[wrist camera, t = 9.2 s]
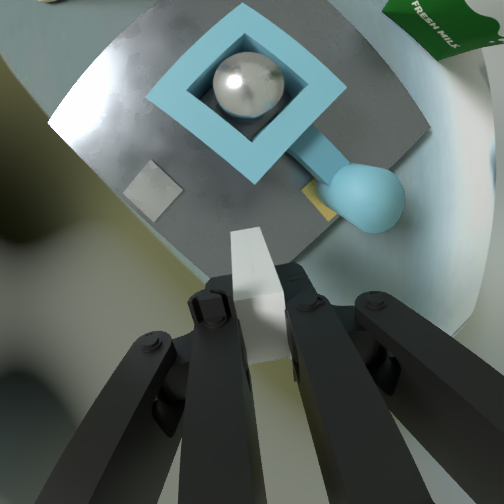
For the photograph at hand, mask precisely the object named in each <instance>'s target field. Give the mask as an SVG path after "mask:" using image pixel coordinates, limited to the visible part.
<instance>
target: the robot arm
mask: <svg viewBox="0 0 504 504" xmlns="http://www.w3.org/2000/svg"><path fill="white" fill-rule="evenodd" d="M230 233H231V257H232V274H229V275H223V276H217V277H211V278H210V280H209V281H208V282H207V283H206V286H205V289H204V290H201V291H199V292H197V293H195V294H194V295H193V296H191V297H190V299H189V301H188V302H187V303H188V306H189V309H190V312H191V315H192V318H193V321H194V324H195V325H194V330H193V331H191V332H190V333H188V334H186V335H184V336H181V337H178V338H175V339H172V338H171V336H170V335H169V334H168V333H166V332H163V331H152V332H149V333H146V334H144V335H143V336H141V337H139V338H138V339H137V340H136V341H135V342H134V343H133V345H132V346H131V347H130V349H129V350H128V352H127V353H126V355H125V356H124V358H123V359H122V361H121V362H120V364H119V365H118V367H117V368H116V370H115V371H114V373H113V374H112V376H111V377H110V379H109V380H108V382H107V383H106V385H105V386H104V388H103V389H102V391H101V392H100V394H99V395H98V397H97V398H96V400H95V401H94V403H93V405H92V406H91V408H90V409H89V411H88V412H87V414H86V416H85V417H84V419H83V421H82V422H81V424H80V425H79V427H78V429H77V430H76V432H75V433H74V435H73V437H72V438H71V440H70V442H69V443H68V445H67V447H66V448H65V450H64V452H63V453H62V455H61V457H60V459H59V460H58V462H57V464H56V465H55V467H54V469H53V471H52V472H51V474H50V476H49V478H48V480H47V482H46V483H45V485H44V487H43V489H42V490H41V492H40V494H39V496H38V498H37V500H36V502H35V504H157V502H158V499H159V496H160V494H161V491H162V489H163V486H164V483H165V480H166V478H167V475H168V473H169V470H170V467H171V465H172V462H173V459H174V456H175V454H176V451H177V448H178V446H179V443H180V440H181V438H182V445H181V458H180V474H179V492H178V504H267V499H266V492H265V485H264V477H263V470H262V463H261V456H260V448H259V440H258V432H257V424H256V417H255V408H254V400H253V392H252V384H251V375H250V371H249V368H248V364H255V363H260V362H267V361H272V360H277V359H283V358H288V357H291V356H290V352H291V355H292V363H293V374H294V381H297V384H298V388H299V391H300V395H301V399H302V402H303V406H304V409H305V413H306V417H307V421H308V424H309V428H310V432H311V436H312V439H313V443H314V447H315V450H316V454H317V457H318V462H319V465H320V469H321V473H322V476H323V480H324V484H325V488H326V491H327V496H328V499H329V503H330V504H435V503H434V502H433V500H432V499H431V497H430V494H429V492H428V490H427V488H426V485H425V483H424V481H423V479H422V476H421V474H420V472H419V470H418V468H417V466H416V464H415V461H414V459H413V457H412V455H411V453H410V451H409V449H408V447H407V445H406V443H405V441H404V439H403V437H402V435H401V433H400V431H399V429H398V427H397V425H396V423H395V421H394V419H393V417H392V415H391V413H390V411H391V412H392V413H393V415H395V417H396V418H397V419H398V420H399V421H400V422H401V423H402V424H403V425H404V426H405V428H406V429H407V430H408V431H409V432H410V433H411V434H412V435H413V436H414V437H415V438H416V439H417V441H419V443H420V444H421V445H422V446H423V447H424V448H425V449H426V450H427V451H428V452H429V453H430V455H432V457H433V458H435V460H436V461H437V462H438V463H439V464H440V465H441V466H442V467H443V468H444V470H445V471H446V472H447V473H448V474H449V475H450V476H451V477H452V478H453V479H454V480H455V481H456V482H457V483H458V485H459V486H460V487H461V488H462V489H463V490H464V491H465V492H466V493H467V494H468V495H469V496H470V497H471V498H472V499H473V501H475V503H476V504H504V376H503V375H502V374H501V373H499V372H498V371H497V370H495V369H494V368H492V367H491V366H490V365H489V364H487V363H486V362H485V361H483V360H482V359H481V358H480V357H478V356H477V355H475V354H474V353H473V352H471V351H470V350H469V349H467V348H466V347H464V346H463V345H462V344H460V343H459V342H458V341H456V340H455V339H453V338H452V337H451V336H449V335H448V334H447V333H445V332H444V331H442V330H441V329H440V328H438V327H437V326H435V325H434V324H432V323H431V322H430V321H428V320H427V319H425V318H424V317H422V316H421V315H419V314H418V313H417V312H415V311H414V310H412V309H411V308H409V307H408V306H406V305H405V304H403V303H402V302H400V301H399V300H397V299H396V298H394V297H393V296H391V295H389V294H387V293H385V292H380V291H369V292H366V293H362V294H361V295H359V296H358V297H357V298H356V300H355V306H336V305H331V304H330V302H329V300H328V299H327V298H326V297H325V296H322V295H320V294H317V292H316V290H315V289H314V287H313V285H312V283H311V281H310V280H309V279H308V276H307V274H306V273H305V271H304V269H303V267H302V266H301V265H299V264H297V263H295V262H291V263H286V264H280V265H275V266H274V264H273V262H272V259H271V256H270V253H269V251H268V248H267V245H266V243H265V240H264V237H263V235H262V232H261V229H260V227H255V228H249V229H243V230H237V231H232V232H230ZM389 410H390V411H389Z"/></svg>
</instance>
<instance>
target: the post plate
mask: <svg viewBox="0 0 504 504" xmlns="http://www.w3.org/2000/svg"><path fill="white" fill-rule="evenodd" d="M241 3H244V4H246V5H247V6H249V7H250V8H252V9H253V10H255V11H256V12H258V13H259V14H261V15H262V16H264V17H265V18H266V19H268V20H269V21H271V22H272V23H273V24H275V25H276V26H277V27H279V28H280V29H281V30H283V31H284V32H285V33H287V34H288V35H289V36H291V37H292V38H293V39H294V40H296V41H297V42H298V43H299V44H300V45H302V46H303V47H304V48H305V49H306V50H308V51H309V52H310V53H311V54H312V55H313V56H315V57H316V58H317V59H318V60H319V61H320V62H321V63H322V64H323V65H325V66H326V67H327V68H328V69H329V70H330V71H331V72H332V73H333V74H334V75H335V76H336V77H337V78H338V79H339V80H340V81H341V82H342V83H343V84H344V85H345V86H346V87H347V88H346V89H345V90H344V91H343V92H342V93H341V94H340V95H339V96H338V97H337V98H336V99H335V100H334V101H333V102H332V103H331V104H330V105H329V106H328V107H327V108H326V109H325V110H324V111H323V112H322V113H321V114H320V116H319V117H318V118H317V119H316V120H315V121H314V122H313V123H312V124H313V125H314V126H315V127H316V128H317V129H318V130H319V131H320V132H321V133H322V134H323V135H324V136H325V137H326V138H327V139H328V140H329V141H330V142H331V143H332V144H333V145H334V146H335V147H336V148H337V149H338V150H339V151H340V153H341V154H342V155H343V156H344V157H345V158H346V159H347V160H348V161H349V162H352V163H357V164H363V165H368V166H373V167H378V168H383V169H387V170H389V169H390V168H391V167H392V166H393V165H394V164H395V163H396V162H397V161H398V160H399V159H400V158H401V157H402V156H403V155H404V154H405V153H406V152H407V151H408V150H409V149H410V148H411V147H412V146H413V145H414V144H415V143H416V142H417V141H418V140H419V139H420V138H421V137H422V136H423V135H424V134H425V133H426V132H427V131H428V130H429V129H430V128H431V127H430V125H429V124H428V122H427V120H426V119H425V117H424V115H423V114H422V112H421V111H420V109H419V108H418V106H417V105H416V103H415V101H414V100H413V99H412V97H411V96H410V94H409V93H408V91H407V90H406V88H405V87H404V86H403V84H402V83H401V82H400V80H399V79H398V77H397V76H396V75H395V74H394V72H393V71H392V70H391V68H390V67H389V66H388V65H387V63H386V62H385V61H384V60H383V58H382V57H381V56H380V55H379V54H378V52H377V51H376V50H375V49H374V48H373V47H372V46H371V44H370V43H369V42H368V41H367V40H366V39H365V38H364V37H363V36H362V35H361V33H360V32H359V31H358V30H357V29H356V28H355V27H354V26H353V25H352V24H351V23H350V22H349V21H348V20H347V19H346V18H345V17H344V16H343V15H342V14H341V13H340V12H339V11H338V10H336V9H335V8H334V7H333V6H332V5H331V4H330V3H329V2H328V1H326V0H159V1H158V2H156V3H155V4H154V5H153V6H151V7H150V8H149V9H148V10H146V11H145V12H144V13H143V14H142V15H141V16H139V17H138V18H137V19H136V20H135V21H134V22H133V23H132V24H130V25H129V26H128V27H127V28H126V29H125V30H124V31H123V32H122V33H121V34H120V35H119V36H118V37H117V38H116V39H115V40H114V41H113V42H112V43H111V44H110V45H109V46H108V47H107V48H106V49H105V50H104V51H103V52H102V53H101V54H100V55H99V57H98V58H97V59H96V60H95V61H94V62H93V63H92V64H91V66H90V67H89V68H88V69H87V70H86V72H85V73H84V74H83V75H82V76H81V78H80V79H79V80H78V81H77V83H76V84H75V85H74V86H73V88H72V89H71V90H70V92H69V93H68V94H67V96H66V97H65V98H64V100H63V101H62V103H61V104H60V105H59V107H58V108H57V110H56V111H55V113H54V114H53V116H52V117H51V119H50V120H49V122H48V123H49V125H50V126H51V127H52V128H53V129H54V130H55V131H56V132H57V133H58V134H59V135H60V136H61V137H62V138H63V139H64V141H65V142H66V143H67V144H68V145H69V146H70V147H71V148H72V149H73V150H74V151H75V152H76V153H77V154H78V155H79V156H80V157H81V158H82V159H83V160H84V161H85V162H86V163H87V164H88V165H89V166H90V167H91V168H92V169H93V170H94V171H95V172H96V173H97V174H98V175H99V176H100V177H101V178H102V179H103V180H104V181H105V182H106V183H107V184H108V185H109V186H110V187H111V188H112V189H113V190H114V191H115V192H116V193H117V194H118V195H119V196H120V197H121V198H122V199H123V200H124V201H125V202H127V203H128V204H129V205H130V206H131V207H132V208H133V209H134V210H135V211H136V212H137V213H138V214H139V215H140V216H141V217H142V218H144V219H145V220H146V221H147V222H148V223H149V224H150V225H151V226H152V227H153V228H154V229H155V230H157V231H158V232H159V233H160V234H161V235H162V236H163V237H164V238H165V239H166V240H167V241H169V242H170V243H171V244H172V245H173V246H174V247H175V248H176V249H178V250H179V251H180V252H181V253H182V254H183V255H184V256H185V257H187V258H188V259H189V260H190V261H191V262H192V263H193V264H194V265H196V266H197V267H198V268H199V269H200V270H201V271H203V272H204V273H205V274H206V275H207V276H208V277H209V278H211V277H217V276H223V275H229V274H232V257H231V233H230V232H232V231H237V230H243V229H249V228H255V227H260V229H261V232H262V235H263V237H264V240H265V243H266V245H267V248H268V251H269V253H270V256H271V259H272V262H273V264H274V266H275V265H280V264H286V263H289V262H291V261H292V260H293V259H294V258H295V257H296V256H297V255H298V254H299V253H301V252H302V251H303V250H304V249H305V248H306V247H307V246H308V245H309V244H310V243H312V242H313V241H314V240H315V239H316V238H317V237H318V236H319V235H320V234H321V233H322V232H324V231H325V230H326V229H327V228H328V227H329V226H330V225H331V224H332V223H333V222H334V221H335V220H336V219H338V218H339V217H340V215H339V214H337V213H336V212H334V211H333V210H331V209H330V208H328V207H327V206H325V205H324V204H323V203H322V202H321V201H320V200H319V198H318V196H317V194H316V191H315V180H316V178H315V177H314V176H313V175H312V174H311V173H310V172H309V171H307V170H306V169H305V168H304V167H303V166H302V165H301V164H300V163H299V162H298V161H297V160H296V159H295V158H294V157H293V156H292V155H291V154H289V153H288V152H287V151H285V152H284V153H283V155H282V156H281V157H280V158H279V159H278V160H277V161H276V162H275V163H274V164H273V165H272V167H271V168H270V169H269V170H268V171H267V172H266V173H265V174H264V175H263V176H262V178H261V179H260V180H259V181H258V182H257V183H256V184H255V185H254V184H253V183H252V182H251V181H250V180H249V179H247V178H246V177H245V176H244V175H243V174H241V173H240V172H239V171H238V170H237V169H236V168H234V167H233V166H232V165H231V164H230V163H228V162H227V161H226V160H225V159H224V158H222V157H221V156H220V155H219V154H217V153H216V152H215V151H214V150H213V149H211V148H210V147H209V146H208V145H206V144H205V143H204V142H203V141H201V140H200V139H199V138H198V137H196V136H195V135H194V134H193V133H191V132H190V131H189V130H187V129H186V128H185V127H184V126H182V125H181V124H180V123H179V122H177V121H176V120H175V119H173V118H172V117H171V116H169V115H168V114H167V113H165V112H164V111H163V110H161V109H160V108H159V107H158V106H156V105H155V104H153V103H152V102H151V101H149V100H148V99H147V98H145V97H146V95H147V94H148V93H149V92H150V91H151V89H152V88H153V87H154V86H155V85H156V84H157V82H158V81H159V80H160V79H161V78H162V77H163V76H164V75H165V73H166V72H167V71H168V70H169V69H170V68H171V67H172V66H173V65H174V64H175V63H176V62H177V61H178V60H179V59H180V57H181V56H182V55H183V54H184V53H185V52H186V51H187V50H188V49H189V48H190V47H192V46H193V45H194V44H195V43H196V42H197V41H198V40H199V39H200V38H201V37H202V36H203V35H204V34H205V33H206V32H208V31H209V30H210V29H211V28H212V27H213V26H214V25H215V24H217V23H218V22H219V21H220V20H221V19H222V18H224V17H225V16H226V15H227V14H229V13H230V12H231V11H232V10H234V9H235V8H236V7H237V6H239V5H240V4H241ZM291 98H292V96H291V95H290V94H288V93H287V92H286V91H285V90H284V78H283V74H282V72H281V70H280V68H279V67H278V65H277V64H276V63H275V62H274V61H273V60H271V59H270V58H268V57H266V56H264V55H262V54H259V53H254V52H243V53H238V54H235V55H232V56H230V57H228V58H227V59H226V60H224V61H223V62H222V63H221V64H220V65H219V67H218V68H217V70H216V72H215V75H214V79H213V84H212V85H211V86H210V87H209V88H208V89H207V90H206V91H205V92H204V93H203V95H202V96H201V97H200V98H199V99H198V100H200V101H201V102H202V103H204V104H205V105H206V106H208V107H209V108H210V109H211V110H213V111H214V112H215V113H216V114H218V115H219V116H220V117H221V118H223V119H224V120H225V121H226V122H228V123H229V124H230V125H231V126H233V127H234V128H235V129H236V130H237V131H239V132H240V133H241V134H242V135H243V136H245V137H246V138H247V139H248V140H249V141H251V140H252V139H253V137H254V136H255V135H256V134H257V133H258V132H259V131H260V130H261V129H262V128H263V127H264V126H265V125H266V124H267V122H268V121H269V120H270V119H271V118H272V117H273V116H274V115H275V114H276V113H277V112H278V111H279V110H280V109H281V108H282V107H283V106H284V105H285V104H286V103H287V102H288V101H289V100H290V99H291Z"/></svg>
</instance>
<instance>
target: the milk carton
mask: <svg viewBox="0 0 504 504" xmlns="http://www.w3.org/2000/svg"><path fill="white" fill-rule="evenodd" d="M382 12H383V13H385V14H386V15H387V16H388V17H390V18H391V19H392V20H393V21H395V22H396V23H397V24H398V25H400V26H401V27H402V28H403V29H404V30H405V31H407V32H408V33H409V34H410V35H411V36H412V37H413V38H414V39H416V40H417V41H418V42H419V43H420V44H421V45H422V46H423V47H424V48H425V49H426V50H427V51H428V52H429V53H430V54H431V55H432V56H433V57H434V58H435V59H436V60H437V61H439V60H441V59H444V58H448V57H451V56H454V55H457V54H460V53H464V52H467V51H471V50H474V49H478V48H482V47H487V46H493V45H498V44H504V0H389V1H388V3H387V4H386V6H385V7H384V9H383V10H382Z"/></svg>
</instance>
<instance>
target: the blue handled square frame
mask: <svg viewBox="0 0 504 504" xmlns="http://www.w3.org/2000/svg"><path fill="white" fill-rule="evenodd" d="M243 52H254V53H259V54H262V55H264V56H266V57H268V58H270V59H271V60H273V61H274V62H275V63H276V64H277V65H278V67H279V68H280V70H281V72H282V74H283V78H284V90H285V91H286V92H287V93H288V94H290V95H291V96H292V98H291V99H290V100H289V101H288V102H287V103H286V104H285V105H284V106H283V107H282V108H281V109H280V110H279V111H278V112H277V113H276V114H275V115H274V116H273V117H272V118H271V119H270V120H269V121H268V122H267V124H266V125H265V126H264V127H263V128H262V129H261V130H260V131H259V132H258V133H257V134H256V135H255V136H254V137H253V139H252V140H251V141H249V140H248V139H247V138H246V137H245V136H243V135H242V134H241V133H240V132H239V131H237V130H236V129H235V128H234V127H233V126H231V125H230V124H229V123H228V122H226V121H225V120H224V119H223V118H221V117H220V116H219V115H218V114H216V113H215V112H214V111H213V110H211V109H210V108H209V107H208V106H206V105H205V104H204V103H202V102H201V101H200V100H198V99H199V98H200V97H201V96H202V95H203V93H204V92H205V91H206V90H207V89H208V88H209V87H210V86H211V85H212V84H213V79H214V75H215V72H216V70H217V68H218V67H219V65H220V64H221V63H222V62H223V61H224V60H226V59H227V58H228V57H230V56H232V55H235V54H238V53H243ZM346 88H347V87H346V86H345V85H344V84H343V83H342V82H341V81H340V80H339V79H338V78H337V77H336V76H335V75H334V74H333V73H332V72H331V71H330V70H329V69H328V68H327V67H326V66H325V65H323V64H322V63H321V62H320V61H319V60H318V59H317V58H316V57H315V56H313V55H312V54H311V53H310V52H309V51H308V50H306V49H305V48H304V47H303V46H302V45H300V44H299V43H298V42H297V41H296V40H294V39H293V38H292V37H291V36H289V35H288V34H287V33H285V32H284V31H283V30H281V29H280V28H279V27H277V26H276V25H275V24H273V23H272V22H271V21H269V20H268V19H266V18H265V17H264V16H262V15H261V14H259V13H258V12H256V11H255V10H253V9H252V8H250V7H249V6H247V5H246V4H244V3H241V4H240V5H239V6H237V7H236V8H235V9H234V10H232V11H231V12H230V13H229V14H227V15H226V16H225V17H224V18H222V19H221V20H220V21H219V22H218V23H217V24H215V25H214V26H213V27H212V28H211V29H210V30H209V31H208V32H206V33H205V34H204V35H203V36H202V37H201V38H200V39H199V40H198V41H197V42H196V43H195V44H194V45H193V46H192V47H190V48H189V49H188V50H187V51H186V52H185V53H184V54H183V55H182V56H181V57H180V59H179V60H178V61H177V62H176V63H175V64H174V65H173V66H172V67H171V68H170V69H169V70H168V71H167V72H166V73H165V75H164V76H163V77H162V78H161V79H160V80H159V81H158V82H157V84H156V85H155V86H154V87H153V88H152V89H151V91H150V92H149V93H148V94H147V95H146V97H145V98H147V99H148V100H149V101H151V102H152V103H153V104H155V105H156V106H158V107H159V108H160V109H161V110H163V111H164V112H165V113H167V114H168V115H169V116H171V117H172V118H173V119H175V120H176V121H177V122H179V123H180V124H181V125H182V126H184V127H185V128H186V129H187V130H189V131H190V132H191V133H193V134H194V135H195V136H196V137H198V138H199V139H200V140H201V141H203V142H204V143H205V144H206V145H208V146H209V147H210V148H211V149H213V150H214V151H215V152H216V153H217V154H219V155H220V156H221V157H222V158H224V159H225V160H226V161H227V162H228V163H230V164H231V165H232V166H233V167H234V168H236V169H237V170H238V171H239V172H240V173H241V174H243V175H244V176H245V177H246V178H247V179H249V180H250V181H251V182H252V183H253V184H254V185H255V184H256V183H257V182H258V181H259V180H260V179H261V178H262V176H263V175H264V174H265V173H266V172H267V171H268V170H269V169H270V168H271V167H272V165H273V164H274V163H275V162H276V161H277V160H278V159H279V158H280V157H281V156H282V155H283V153H284V152H285V151H287V152H288V153H289V154H291V155H292V156H293V157H294V158H295V159H296V160H297V161H298V162H299V163H300V164H301V165H302V166H303V167H304V168H305V169H306V170H307V171H309V172H310V173H311V174H312V175H313V176H314V177H315V178H316V180H315V191H316V194H317V196H318V198H319V200H320V201H321V202H322V203H323V204H324V205H325V206H327V207H328V208H330V209H331V210H333V211H334V212H336V213H337V214H339V215H340V216H342V217H343V218H345V219H346V220H348V221H349V222H351V223H352V224H354V225H355V226H357V227H358V228H359V229H361V230H362V231H364V232H367V233H370V234H379V233H383V232H385V231H387V230H389V229H390V228H392V227H393V226H394V225H395V224H396V223H397V221H398V220H399V218H400V217H401V214H402V212H403V209H404V203H405V194H404V189H403V186H402V184H401V182H400V180H399V179H398V177H397V176H396V175H395V174H394V173H392V172H391V171H389V170H387V169H383V168H378V167H373V166H368V165H363V164H357V163H352V162H349V161H348V160H347V159H346V158H345V157H344V156H343V155H342V154H341V153H340V151H339V150H338V149H337V148H336V147H335V146H334V145H333V144H332V143H331V142H330V141H329V140H328V139H327V138H326V137H325V136H324V135H323V134H322V133H321V132H320V131H319V130H318V129H317V128H316V127H315V126H314V125H313V124H312V123H313V122H314V121H315V120H316V119H317V118H318V117H319V116H320V114H321V113H322V112H323V111H324V110H325V109H326V108H327V107H328V106H329V105H330V104H331V103H332V102H333V101H334V100H335V99H336V98H337V97H338V96H339V95H340V94H341V93H342V92H343V91H344V90H345V89H346Z"/></svg>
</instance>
